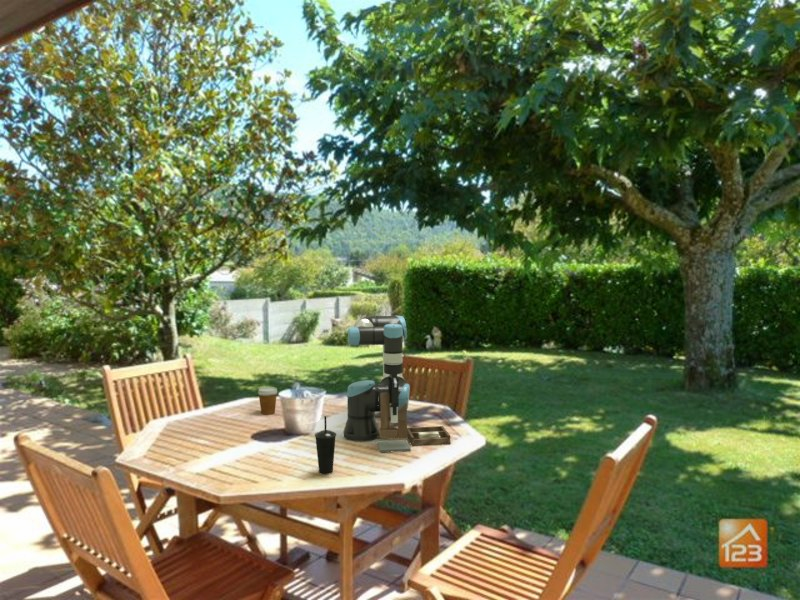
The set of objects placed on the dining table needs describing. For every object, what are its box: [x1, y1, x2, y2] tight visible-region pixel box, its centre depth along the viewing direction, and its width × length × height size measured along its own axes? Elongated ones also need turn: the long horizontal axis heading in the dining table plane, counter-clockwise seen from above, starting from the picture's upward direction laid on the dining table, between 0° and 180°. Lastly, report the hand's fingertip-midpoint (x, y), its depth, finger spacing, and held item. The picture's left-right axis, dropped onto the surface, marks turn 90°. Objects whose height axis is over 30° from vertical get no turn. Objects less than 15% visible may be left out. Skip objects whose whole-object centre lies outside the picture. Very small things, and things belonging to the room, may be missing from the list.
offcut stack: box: [418, 432, 440, 439], centre depth 240 cm, size 9×3×4 cm, turn 98°
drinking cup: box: [314, 415, 337, 475], centre depth 207 cm, size 8×8×20 cm
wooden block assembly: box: [379, 392, 408, 439], centre depth 233 cm, size 4×11×18 cm, turn 89°
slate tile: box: [376, 439, 412, 453], centre depth 234 cm, size 12×11×1 cm
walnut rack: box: [406, 425, 451, 447], centre depth 244 cm, size 16×14×4 cm
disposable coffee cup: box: [257, 386, 278, 416], centre depth 286 cm, size 10×10×12 cm
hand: (393, 420), depth 233 cm, fingers closed on wooden block assembly, 4 cm apart
